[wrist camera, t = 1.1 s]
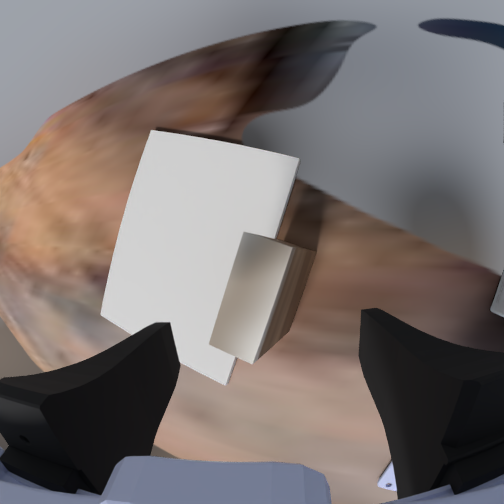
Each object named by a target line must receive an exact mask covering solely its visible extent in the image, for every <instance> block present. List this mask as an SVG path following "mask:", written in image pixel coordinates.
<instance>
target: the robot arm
mask: <svg viewBox="0 0 504 504" xmlns="http://www.w3.org/2000/svg"><path fill="white" fill-rule="evenodd" d="M359 359H360V363H361V367H362V371H363V375H364V378H365V380H366V383H367V385H368V388H369V390H370V392H371V395H372V397H373V400H374V402H375V404H376V407H377V409H378V412H379V414H380V417H381V419H382V422H383V425H384V428H385V432H386V436H387V440H388V444H389V449H390V453H391V458H392V461H391V463H390V464H389V466H388V467H387V469H386V470H385V471H384V473H383V474H382V476H381V477H380V478H379V480H378V486H379V487H381V488H385V489H389V490H393V491H397V495H398V500H394V501H390V502H386V503H381V504H504V353H501V352H492V351H484V350H478V349H473V348H469V347H464V346H460V345H457V344H453V343H450V342H447V341H444V340H441V339H439V338H436V337H434V336H431V335H429V334H427V333H425V332H422V331H420V330H418V329H416V328H414V327H412V326H410V325H408V324H406V323H405V322H403V321H401V320H399V319H397V318H396V317H394V316H392V315H390V314H388V313H386V312H385V311H383V310H380V309H378V308H372V309H364V310H361V326H360V343H359ZM179 370H180V362H179V358H178V354H177V349H176V345H175V341H174V337H173V332H172V328H171V323H170V322H155V323H153V324H151V325H149V326H147V327H145V328H143V329H142V330H140V331H138V332H136V333H135V334H133V335H131V336H130V337H128V338H126V339H125V340H123V341H121V342H120V343H118V344H116V345H114V346H112V347H111V348H109V349H107V350H105V351H103V352H101V353H99V354H97V355H95V356H93V357H91V358H88V359H86V360H84V361H81V362H79V363H76V364H73V365H70V366H67V367H63V368H60V369H57V370H53V371H49V372H45V373H40V374H35V375H28V376H19V377H6V378H2V379H1V380H0V433H1V434H2V436H3V437H4V438H5V440H6V442H7V443H8V445H9V446H8V448H7V449H6V450H5V451H4V450H3V449H2V448H1V447H0V504H331V496H330V488H329V485H328V483H327V480H326V478H325V476H324V474H322V473H320V472H317V471H315V470H313V469H310V468H308V467H306V466H304V465H301V464H295V463H283V462H218V461H199V460H186V459H175V458H166V457H157V456H150V454H151V450H152V446H153V443H154V439H155V436H156V433H157V430H158V427H159V425H160V422H161V420H162V418H163V415H164V413H165V411H166V408H167V406H168V403H169V401H170V399H171V396H172V394H173V391H174V389H175V386H176V383H177V379H178V375H179ZM387 483H391V484H389V485H387Z"/></svg>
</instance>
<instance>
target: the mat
mask: <svg viewBox="0 0 504 504" xmlns="http://www.w3.org/2000/svg"><path fill="white" fill-rule="evenodd" d="M300 162H301V160H300V158H296V157H292V156H288V155H284V154H279V153H275V152H271V151H266V150H262V149H257V148H252V147H247V146H243V145H238V144H233V143H227V142H222V141H217V140H211V139H206V138H200V137H194V136H188V135H182V134H175V133H168V132H162V131H154V130H151V133H150V135H149V138H148V141H147V144H146V146H145V149H144V152H143V155H142V158H141V161H140V164H139V167H138V170H137V173H136V176H135V179H134V182H133V185H132V189H131V192H130V195H129V198H128V202H127V205H126V209H125V212H124V216H123V219H122V223H121V226H120V230H119V234H118V238H117V242H116V246H115V250H114V254H113V258H112V262H111V267H110V271H109V275H108V280H107V285H106V289H105V294H104V299H103V305H102V310H101V316H103V317H105V318H106V319H108V320H109V321H111V322H112V323H114V324H115V325H117V326H119V327H120V328H122V329H123V330H125V331H127V332H128V333H130V334H132V335H133V334H135V333H136V332H138V331H140V330H142V329H143V328H145V327H147V326H149V325H151V324H153V323H155V322H170V323H171V328H172V332H173V337H174V341H175V345H176V349H177V354H178V358H179V362H180V363H182V364H184V365H186V366H188V367H190V368H192V369H194V370H195V371H197V372H199V373H201V374H203V375H205V376H207V377H209V378H211V379H213V380H215V381H217V382H219V383H221V384H223V385H225V386H226V385H227V384H228V382H229V379H230V377H231V374H232V371H233V368H234V365H235V362H236V359H237V357H235V356H233V355H230V354H228V353H226V352H224V351H222V350H220V349H217V348H215V347H213V346H211V345H209V341H210V338H211V335H212V332H213V328H214V325H215V322H216V319H217V315H218V312H219V309H220V306H221V302H222V299H223V296H224V293H225V289H226V286H227V283H228V280H229V277H230V273H231V270H232V267H233V264H234V261H235V257H236V254H237V251H238V248H239V245H240V241H241V238H242V235H243V232H248V233H253V234H257V235H261V236H265V237H269V238H273V239H276V238H277V235H278V232H279V229H280V226H281V223H282V219H283V216H284V213H285V210H286V207H287V204H288V201H289V197H290V194H291V191H292V188H293V185H294V181H295V178H296V175H297V172H298V169H299V165H300Z"/></svg>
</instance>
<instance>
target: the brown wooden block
mask: <svg viewBox="0 0 504 504" xmlns="http://www.w3.org/2000/svg"><path fill="white" fill-rule="evenodd" d="M315 255H316V252H315V251H312V250H309V249H306V248H303V247H300V246H297V245H294V244H291V243H288V242H285V241H282V240H277V239H273V238H269V237H265V236H261V235H257V234H253V233H248V232H243V235H242V238H241V241H240V245H239V248H238V251H237V254H236V257H235V261H234V264H233V267H232V270H231V273H230V277H229V280H228V283H227V286H226V289H225V293H224V296H223V299H222V302H221V306H220V309H219V312H218V315H217V319H216V322H215V325H214V328H213V332H212V335H211V338H210V341H209V345H211V346H213V347H215V348H217V349H220V350H222V351H224V352H226V353H228V354H230V355H233V356H235V357H237V358H239V359H241V360H244V361H246V362H248V363H250V364H253V363H255V362H256V361H257V360H258V359H259V358H260V357H261V356H262V355H264V354H265V353H266V352H267V351H268V350H269V349H270V348H271V347H272V346H274V345H275V344H276V343H277V342H278V341H279V340H280V339H281V338H282V337H283V336H284V335H286V334H287V333H288V332H289V330H290V327H291V325H292V322H293V319H294V316H295V313H296V311H297V308H298V305H299V302H300V299H301V297H302V294H303V291H304V288H305V285H306V282H307V279H308V276H309V273H310V270H311V267H312V264H313V261H314V258H315Z"/></svg>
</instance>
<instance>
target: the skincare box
mask: <svg viewBox="0 0 504 504" xmlns="http://www.w3.org/2000/svg"><path fill="white" fill-rule="evenodd" d="M490 310H491V312H493V313H495V314H497V315H500V316H502V317H504V270H503V273H502V277H501V280H500V283H499V286H498V289H497V292H496V295H495V297H494V300H493V303H492V306H491V308H490Z"/></svg>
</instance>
